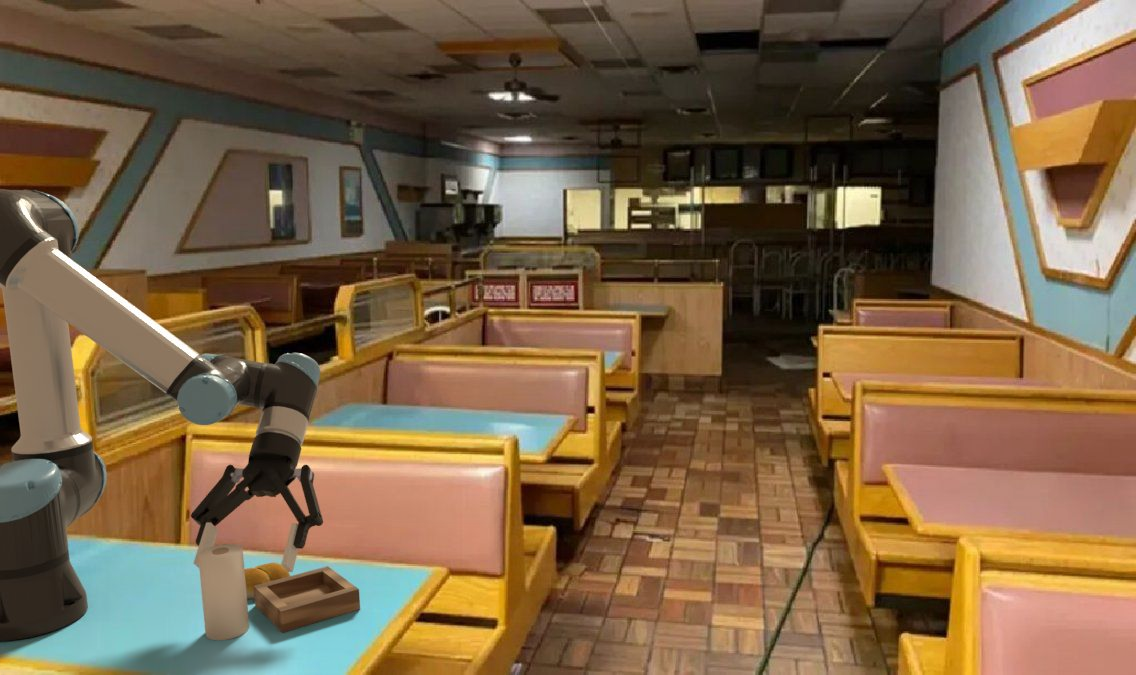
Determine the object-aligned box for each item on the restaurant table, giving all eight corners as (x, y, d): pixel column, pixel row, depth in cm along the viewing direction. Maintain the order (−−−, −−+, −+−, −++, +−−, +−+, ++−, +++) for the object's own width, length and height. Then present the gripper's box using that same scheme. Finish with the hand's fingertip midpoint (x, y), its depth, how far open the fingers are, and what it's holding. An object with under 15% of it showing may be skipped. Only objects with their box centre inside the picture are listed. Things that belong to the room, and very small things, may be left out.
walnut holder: (255, 605, 143) (253, 585, 143) (329, 584, 150) (327, 566, 150) (282, 632, 134) (280, 611, 133) (360, 609, 141) (358, 589, 140)
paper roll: (200, 629, 136) (192, 549, 134) (241, 617, 139) (235, 539, 137) (212, 644, 131) (204, 561, 129) (255, 631, 134) (248, 550, 133)
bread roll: (300, 586, 151) (298, 563, 150) (248, 604, 144) (246, 580, 144) (274, 573, 156) (272, 551, 156) (223, 591, 150) (221, 567, 149)
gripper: (360, 452, 150) (332, 578, 138) (215, 453, 154) (175, 576, 141) (345, 429, 144) (315, 558, 132) (195, 430, 148) (152, 556, 135)
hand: (243, 567), depth 136 cm, fingers open, 13 cm apart
